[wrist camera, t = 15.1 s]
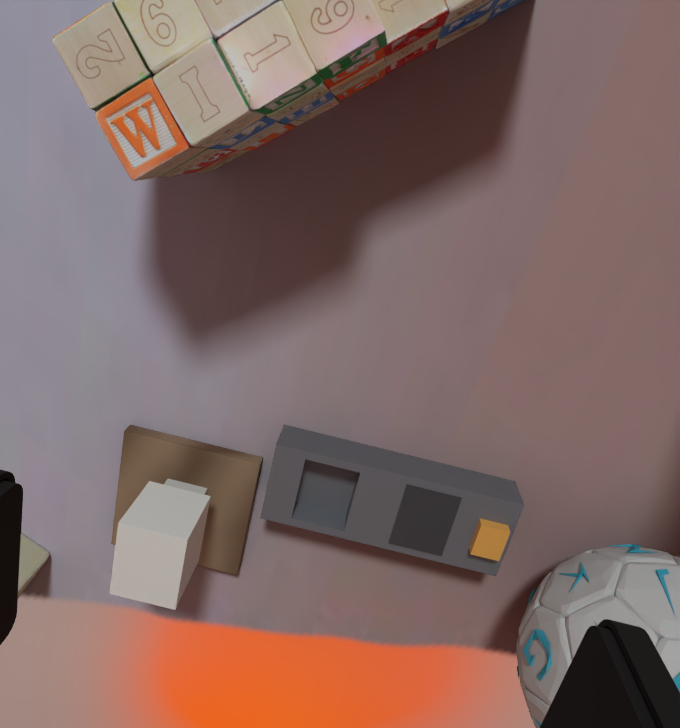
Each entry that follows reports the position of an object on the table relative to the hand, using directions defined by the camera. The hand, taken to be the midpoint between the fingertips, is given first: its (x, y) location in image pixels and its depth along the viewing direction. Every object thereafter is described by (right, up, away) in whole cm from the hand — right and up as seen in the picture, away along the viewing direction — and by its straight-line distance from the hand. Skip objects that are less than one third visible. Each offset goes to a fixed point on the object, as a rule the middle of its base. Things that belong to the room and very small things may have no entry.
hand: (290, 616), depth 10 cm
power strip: (+4, -5, +34) cm, 34 cm away
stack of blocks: (+1, +23, +25) cm, 34 cm away
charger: (-11, -6, +34) cm, 37 cm away
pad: (-11, -6, +35) cm, 37 cm away
